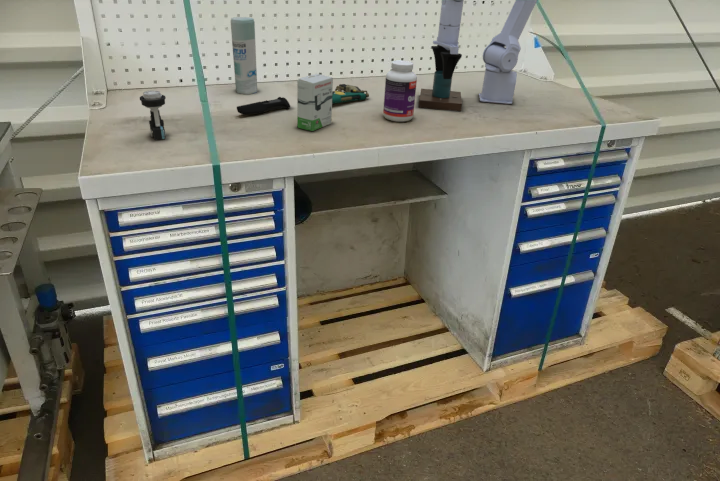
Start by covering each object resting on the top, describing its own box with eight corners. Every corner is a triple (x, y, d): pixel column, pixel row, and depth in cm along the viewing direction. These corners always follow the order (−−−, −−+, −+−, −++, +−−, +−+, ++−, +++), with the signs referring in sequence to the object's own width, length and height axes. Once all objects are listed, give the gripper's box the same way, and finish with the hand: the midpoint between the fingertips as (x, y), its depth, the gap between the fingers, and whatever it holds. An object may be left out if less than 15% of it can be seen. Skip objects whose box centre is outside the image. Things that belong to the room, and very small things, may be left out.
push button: (143, 132, 122) (135, 89, 116) (166, 129, 124) (160, 87, 119) (148, 141, 117) (141, 97, 112) (173, 138, 119) (167, 94, 114)
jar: (432, 92, 156) (434, 69, 152) (449, 94, 155) (452, 70, 152) (431, 97, 151) (434, 73, 148) (449, 98, 151) (453, 74, 147)
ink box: (312, 132, 127) (312, 82, 121) (296, 127, 130) (295, 79, 123) (332, 123, 134) (333, 75, 128) (317, 119, 136) (317, 72, 130)
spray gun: (353, 92, 162) (376, 108, 151) (303, 93, 155) (322, 109, 144) (355, 78, 160) (378, 93, 149) (304, 78, 153) (324, 94, 142)
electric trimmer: (234, 116, 136) (233, 104, 134) (283, 105, 145) (282, 94, 143) (242, 120, 133) (241, 107, 132) (291, 109, 143) (291, 97, 141)
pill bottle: (411, 124, 136) (416, 67, 129) (380, 121, 137) (384, 64, 130) (414, 115, 143) (420, 60, 136) (385, 112, 144) (389, 58, 137)
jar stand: (420, 95, 160) (421, 87, 159) (459, 99, 159) (460, 91, 158) (418, 107, 149) (419, 99, 148) (460, 111, 148) (462, 103, 147)
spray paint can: (262, 91, 156) (259, 19, 146) (247, 95, 152) (242, 21, 141) (246, 87, 159) (241, 16, 149) (230, 91, 155) (225, 18, 144)
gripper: (428, 20, 149) (423, 69, 156) (443, 28, 137) (436, 81, 144) (452, 20, 150) (446, 69, 157) (469, 29, 138) (461, 81, 145)
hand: (443, 75), depth 150 cm, fingers open, 7 cm apart
